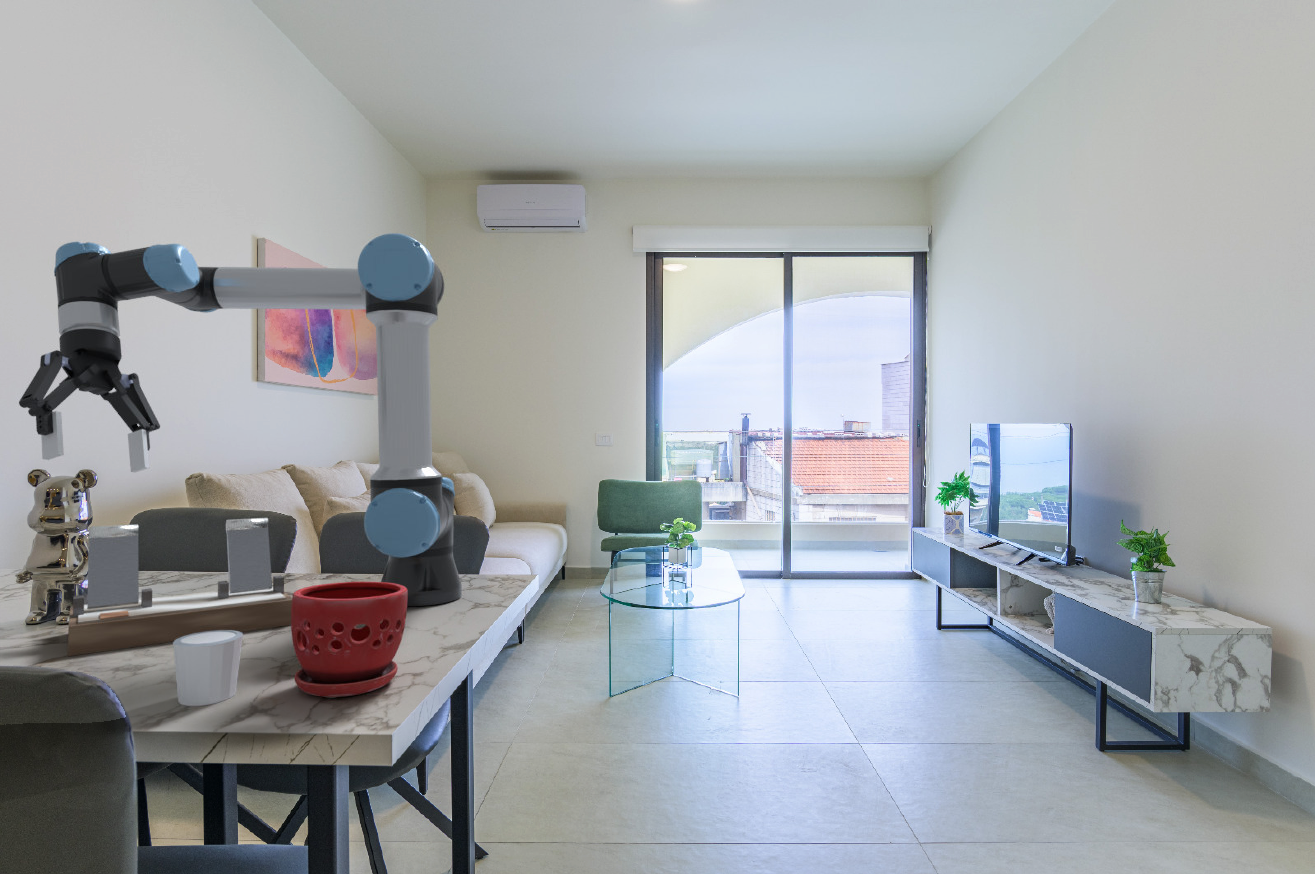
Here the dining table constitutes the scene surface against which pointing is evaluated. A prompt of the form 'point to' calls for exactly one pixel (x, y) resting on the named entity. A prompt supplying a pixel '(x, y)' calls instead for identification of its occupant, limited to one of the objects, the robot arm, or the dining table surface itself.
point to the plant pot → (347, 636)
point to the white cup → (207, 666)
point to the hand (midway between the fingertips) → (99, 464)
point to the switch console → (175, 617)
